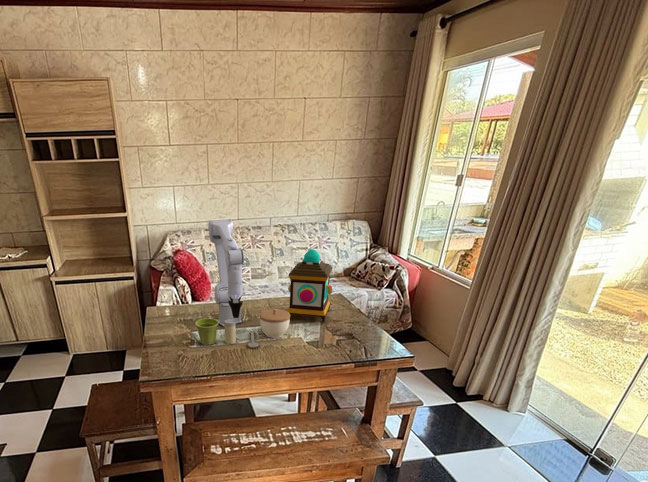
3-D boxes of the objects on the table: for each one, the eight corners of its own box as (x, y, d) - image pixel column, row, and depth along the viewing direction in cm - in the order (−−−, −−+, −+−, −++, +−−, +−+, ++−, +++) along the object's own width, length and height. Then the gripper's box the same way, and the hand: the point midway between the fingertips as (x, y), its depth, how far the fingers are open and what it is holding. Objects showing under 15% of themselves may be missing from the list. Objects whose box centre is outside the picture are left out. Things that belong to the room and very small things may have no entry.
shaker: (232, 338, 170) (232, 318, 165) (238, 342, 166) (237, 321, 162) (223, 340, 168) (222, 320, 163) (228, 344, 164) (227, 324, 160)
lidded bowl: (293, 330, 174) (294, 306, 169) (284, 342, 164) (284, 316, 159) (265, 327, 179) (265, 303, 174) (255, 338, 169) (254, 313, 164)
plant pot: (222, 338, 170) (221, 319, 165) (214, 348, 162) (213, 328, 158) (202, 336, 173) (200, 317, 168) (193, 345, 165) (191, 325, 161)
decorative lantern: (291, 305, 201) (294, 243, 186) (332, 309, 195) (338, 245, 180) (282, 320, 185) (284, 253, 170) (326, 324, 179) (333, 255, 164)
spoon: (247, 333, 174) (247, 331, 173) (257, 332, 174) (257, 331, 173) (247, 348, 161) (247, 346, 160) (259, 348, 160) (259, 346, 160)
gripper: (245, 286, 152) (246, 320, 159) (244, 275, 165) (245, 307, 171) (227, 287, 152) (228, 321, 159) (227, 276, 165) (228, 308, 171)
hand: (235, 314), depth 165 cm, fingers open, 7 cm apart
